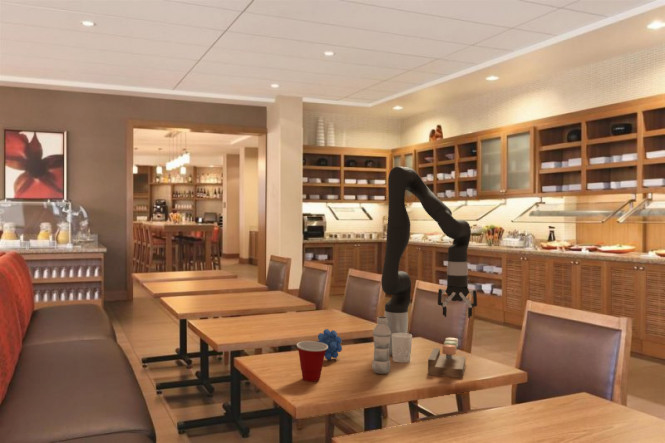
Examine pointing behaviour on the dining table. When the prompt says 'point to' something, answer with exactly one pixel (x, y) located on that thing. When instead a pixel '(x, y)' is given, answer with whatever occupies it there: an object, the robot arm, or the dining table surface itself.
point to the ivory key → (452, 340)
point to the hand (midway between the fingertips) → (457, 317)
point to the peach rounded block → (449, 351)
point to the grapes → (330, 343)
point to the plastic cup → (311, 359)
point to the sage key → (451, 343)
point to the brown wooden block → (445, 365)
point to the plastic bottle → (381, 346)
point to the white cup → (401, 347)
